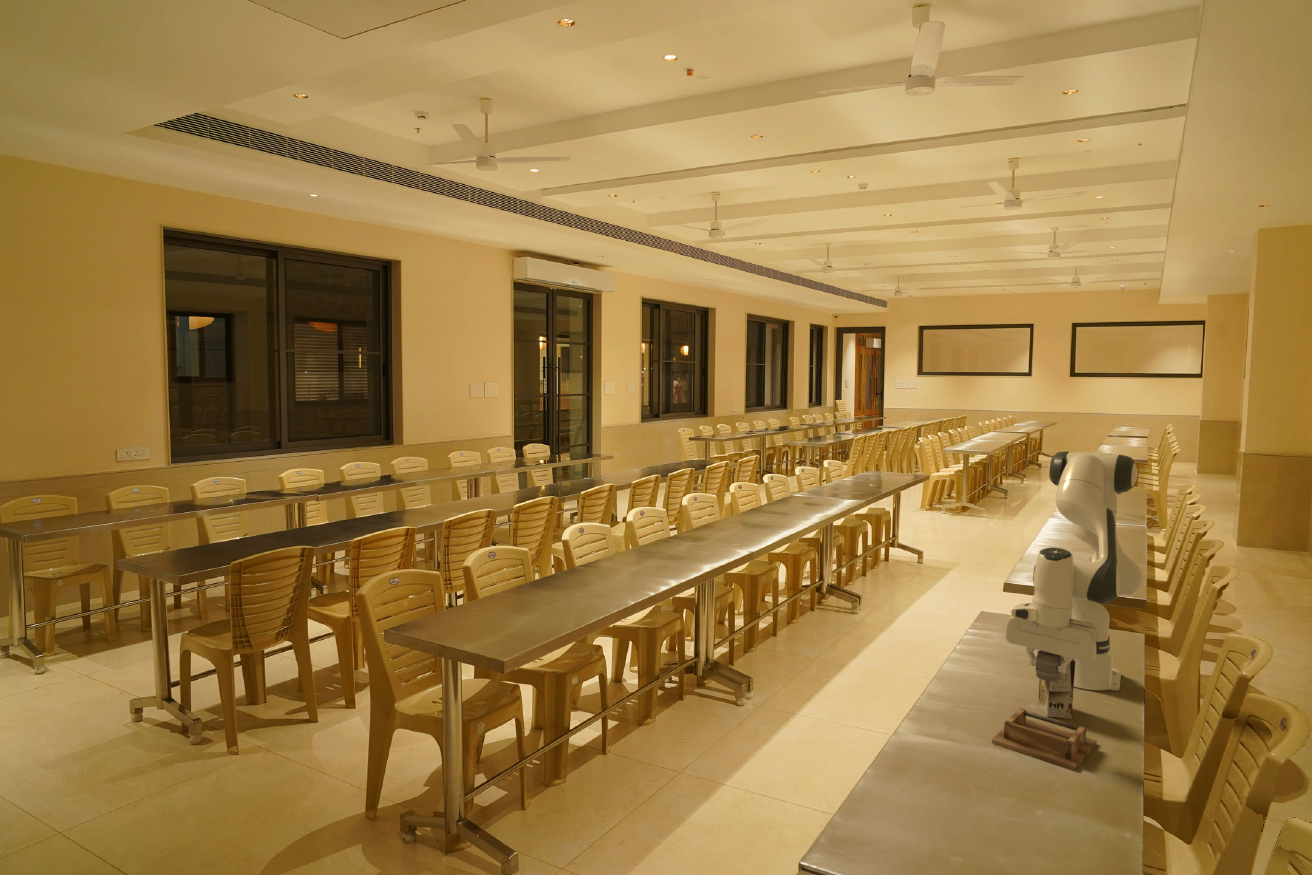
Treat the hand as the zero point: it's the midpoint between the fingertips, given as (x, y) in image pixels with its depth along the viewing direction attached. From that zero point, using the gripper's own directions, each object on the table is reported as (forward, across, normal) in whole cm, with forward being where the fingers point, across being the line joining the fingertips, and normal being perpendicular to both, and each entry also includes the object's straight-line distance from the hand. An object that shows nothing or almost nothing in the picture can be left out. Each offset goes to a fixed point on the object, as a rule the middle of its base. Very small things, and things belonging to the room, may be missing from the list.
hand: (1048, 668), depth 191 cm
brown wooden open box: (+19, 0, 0) cm, 19 cm away
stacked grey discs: (+2, 0, 0) cm, 2 cm away
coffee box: (+19, +4, -22) cm, 30 cm away
